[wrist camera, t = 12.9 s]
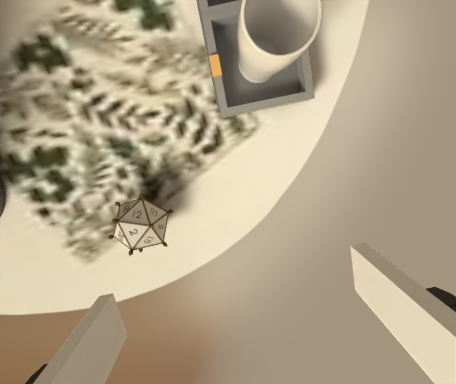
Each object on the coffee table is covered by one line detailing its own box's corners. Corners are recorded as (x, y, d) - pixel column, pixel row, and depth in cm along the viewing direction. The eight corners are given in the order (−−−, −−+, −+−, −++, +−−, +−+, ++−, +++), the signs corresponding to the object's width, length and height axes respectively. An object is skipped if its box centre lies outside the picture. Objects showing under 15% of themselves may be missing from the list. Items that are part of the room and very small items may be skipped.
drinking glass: (285, 38, 35) (331, -31, 20) (278, 91, 36) (316, 63, 21) (235, 33, 34) (244, -42, 20) (230, 87, 36) (235, 55, 21)
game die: (159, 219, 45) (141, 275, 38) (113, 196, 41) (85, 253, 34) (189, 198, 40) (175, 258, 33) (140, 168, 36) (113, 230, 29)
